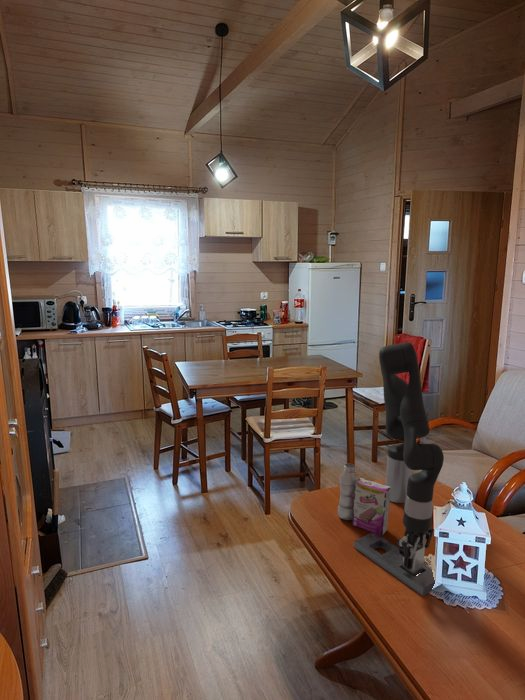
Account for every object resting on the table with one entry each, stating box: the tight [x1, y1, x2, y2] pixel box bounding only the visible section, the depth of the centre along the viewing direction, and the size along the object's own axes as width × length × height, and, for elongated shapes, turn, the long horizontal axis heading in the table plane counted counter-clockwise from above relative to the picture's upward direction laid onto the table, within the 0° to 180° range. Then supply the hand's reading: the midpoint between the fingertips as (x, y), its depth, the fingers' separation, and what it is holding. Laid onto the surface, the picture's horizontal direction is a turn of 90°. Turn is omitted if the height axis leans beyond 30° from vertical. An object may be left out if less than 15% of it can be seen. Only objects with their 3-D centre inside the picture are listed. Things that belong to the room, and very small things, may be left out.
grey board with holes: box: [353, 532, 435, 597], centre depth 139 cm, size 9×26×2 cm, turn 34°
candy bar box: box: [351, 477, 391, 537], centre depth 157 cm, size 11×5×16 cm, turn 56°
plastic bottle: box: [337, 463, 359, 521], centre depth 163 cm, size 6×7×20 cm
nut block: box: [402, 544, 426, 576], centre depth 134 cm, size 4×4×8 cm
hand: (412, 564), depth 134 cm, fingers closed on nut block, 4 cm apart
